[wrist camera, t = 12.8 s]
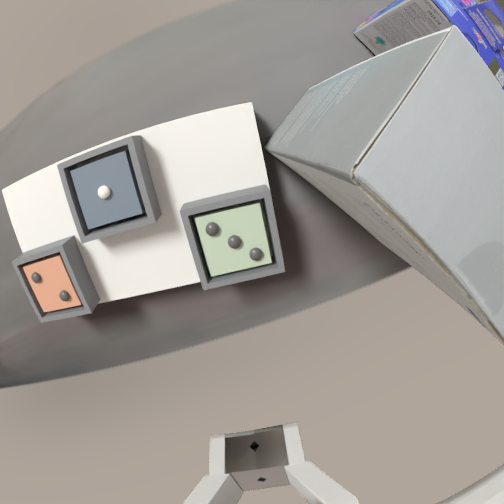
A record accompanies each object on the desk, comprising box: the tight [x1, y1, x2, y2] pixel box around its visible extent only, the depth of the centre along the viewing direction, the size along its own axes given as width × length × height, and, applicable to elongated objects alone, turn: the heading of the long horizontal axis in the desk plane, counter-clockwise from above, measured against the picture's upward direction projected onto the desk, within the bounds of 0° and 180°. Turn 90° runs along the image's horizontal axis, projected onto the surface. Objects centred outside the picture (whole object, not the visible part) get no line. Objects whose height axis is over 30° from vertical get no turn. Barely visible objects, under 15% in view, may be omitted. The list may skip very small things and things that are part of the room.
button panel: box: [2, 102, 285, 322], centre depth 25 cm, size 25×14×6 cm, turn 102°
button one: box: [70, 150, 145, 230], centre depth 22 cm, size 5×5×2 cm
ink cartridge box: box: [353, 0, 504, 90], centre depth 17 cm, size 10×6×14 cm, turn 50°
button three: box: [195, 199, 272, 277], centre depth 25 cm, size 5×5×2 cm
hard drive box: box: [264, 25, 504, 344], centre depth 18 cm, size 16×8×20 cm, turn 54°
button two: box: [23, 252, 82, 312], centre depth 24 cm, size 5×5×2 cm
